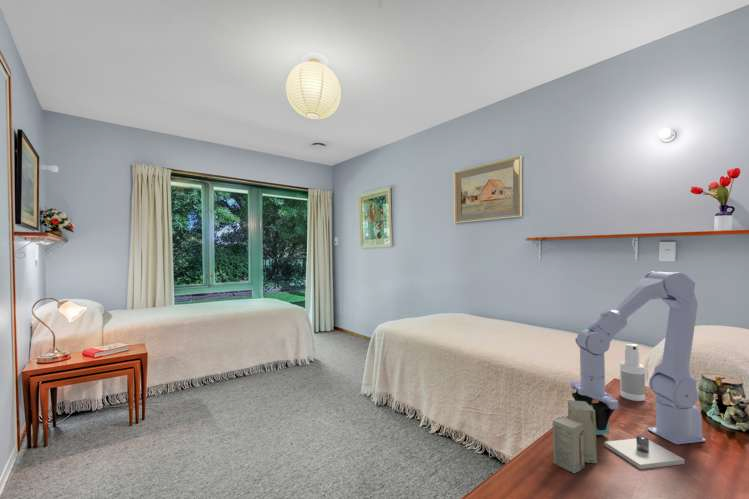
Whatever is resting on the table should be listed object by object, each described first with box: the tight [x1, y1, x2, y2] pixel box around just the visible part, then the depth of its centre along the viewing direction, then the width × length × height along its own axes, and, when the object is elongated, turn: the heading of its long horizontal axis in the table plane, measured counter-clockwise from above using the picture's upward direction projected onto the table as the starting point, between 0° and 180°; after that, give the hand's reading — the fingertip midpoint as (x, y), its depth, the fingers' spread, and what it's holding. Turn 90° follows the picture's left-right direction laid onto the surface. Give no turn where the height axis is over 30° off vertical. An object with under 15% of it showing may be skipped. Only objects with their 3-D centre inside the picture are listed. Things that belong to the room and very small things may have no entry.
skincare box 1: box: [552, 416, 586, 474], centre depth 81 cm, size 5×4×10 cm
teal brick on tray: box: [590, 405, 610, 436], centre depth 96 cm, size 5×5×6 cm
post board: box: [604, 434, 686, 470], centre depth 86 cm, size 12×10×4 cm
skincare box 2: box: [567, 399, 598, 464], centre depth 85 cm, size 6×4×12 cm
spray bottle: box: [619, 343, 646, 402], centre depth 120 cm, size 7×7×18 cm
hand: (593, 424), depth 96 cm, fingers closed on teal brick on tray, 5 cm apart
